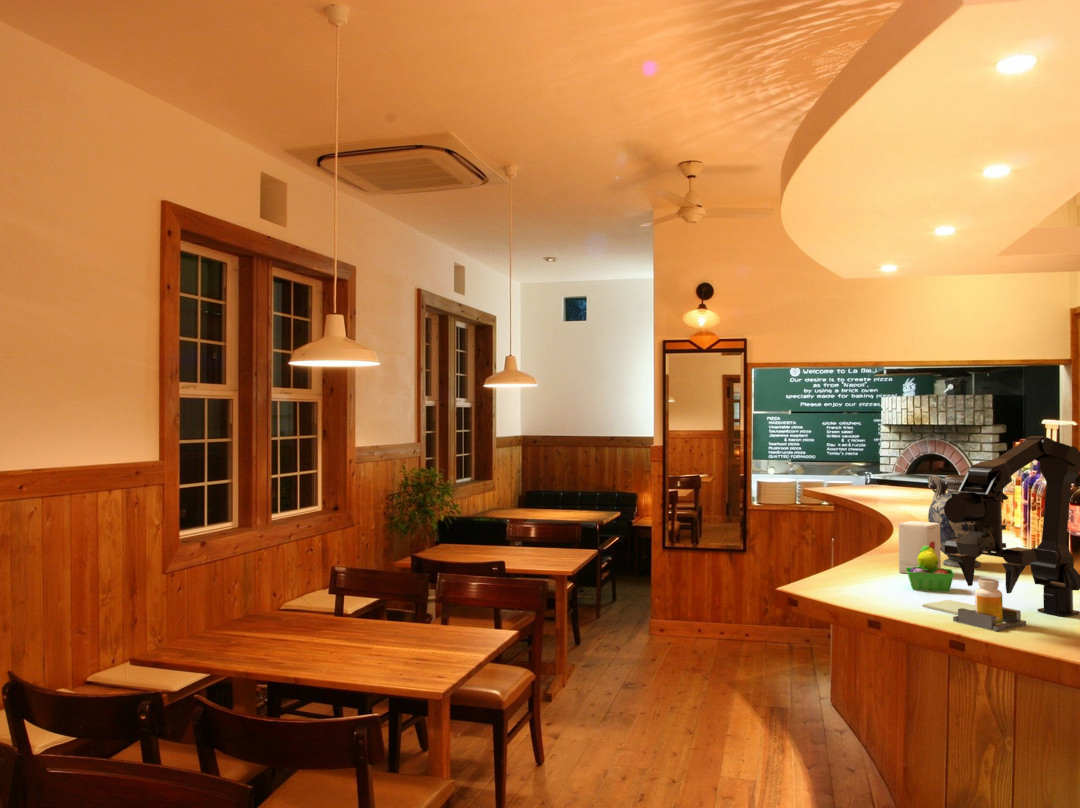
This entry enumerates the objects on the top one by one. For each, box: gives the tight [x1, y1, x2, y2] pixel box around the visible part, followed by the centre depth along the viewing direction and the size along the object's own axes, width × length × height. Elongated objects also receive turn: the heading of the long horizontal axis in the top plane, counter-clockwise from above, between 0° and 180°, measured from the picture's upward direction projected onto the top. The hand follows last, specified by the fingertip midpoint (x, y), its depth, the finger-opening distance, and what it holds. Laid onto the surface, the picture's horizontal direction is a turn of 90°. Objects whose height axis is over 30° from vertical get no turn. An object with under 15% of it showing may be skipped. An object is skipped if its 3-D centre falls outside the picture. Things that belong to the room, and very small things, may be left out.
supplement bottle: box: [974, 578, 1004, 625], centre depth 185 cm, size 5×5×10 cm
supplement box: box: [898, 520, 942, 575], centre depth 244 cm, size 9×9×15 cm
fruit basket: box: [906, 546, 955, 593], centre depth 222 cm, size 11×9×11 cm
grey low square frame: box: [952, 606, 1027, 632], centre depth 185 cm, size 10×10×3 cm
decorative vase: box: [927, 474, 983, 569], centre depth 256 cm, size 21×19×28 cm
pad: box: [921, 599, 976, 616], centre depth 199 cm, size 10×10×1 cm
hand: (989, 589), depth 185 cm, fingers open, 9 cm apart
